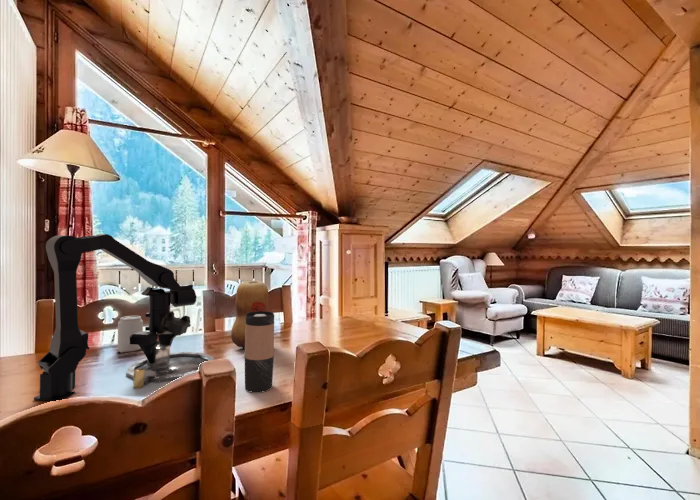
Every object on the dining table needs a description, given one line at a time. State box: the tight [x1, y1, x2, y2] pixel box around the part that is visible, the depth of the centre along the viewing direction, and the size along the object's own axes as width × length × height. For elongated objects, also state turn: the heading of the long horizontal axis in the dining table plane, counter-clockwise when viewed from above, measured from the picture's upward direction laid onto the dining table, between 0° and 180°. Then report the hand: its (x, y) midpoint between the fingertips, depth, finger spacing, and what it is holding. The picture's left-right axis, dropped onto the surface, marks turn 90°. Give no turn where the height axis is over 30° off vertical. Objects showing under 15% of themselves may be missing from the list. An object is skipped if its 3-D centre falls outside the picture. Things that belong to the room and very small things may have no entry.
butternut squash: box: [230, 279, 269, 349], centre depth 130 cm, size 14×13×25 cm
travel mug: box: [244, 310, 275, 393], centre depth 95 cm, size 8×8×20 cm
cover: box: [147, 344, 171, 367], centre depth 107 cm, size 6×6×5 cm
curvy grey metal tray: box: [125, 351, 215, 390], centre depth 104 cm, size 28×23×5 cm
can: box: [117, 315, 144, 354], centre depth 123 cm, size 8×8×12 cm
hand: (158, 360), depth 107 cm, fingers closed on cover, 6 cm apart
